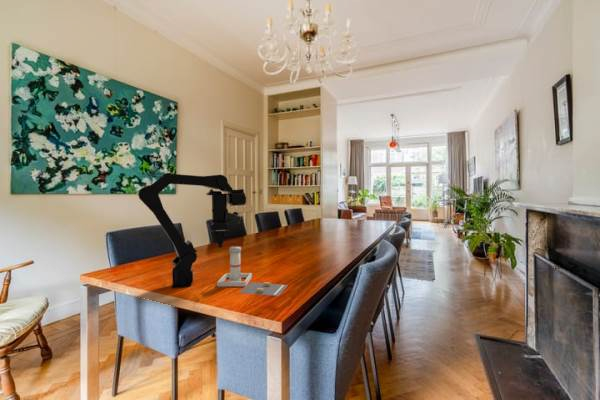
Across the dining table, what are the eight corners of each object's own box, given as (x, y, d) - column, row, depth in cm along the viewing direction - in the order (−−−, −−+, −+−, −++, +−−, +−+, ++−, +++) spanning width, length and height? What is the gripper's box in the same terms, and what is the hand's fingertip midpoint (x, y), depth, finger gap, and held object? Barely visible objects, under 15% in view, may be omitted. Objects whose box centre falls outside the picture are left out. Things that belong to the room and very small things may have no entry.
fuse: (231, 284, 98) (231, 249, 98) (228, 281, 102) (228, 247, 102) (242, 283, 101) (242, 248, 100) (239, 279, 104) (239, 246, 104)
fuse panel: (238, 295, 90) (238, 289, 90) (251, 285, 100) (251, 279, 100) (278, 298, 87) (278, 292, 87) (287, 288, 96) (287, 282, 96)
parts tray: (217, 289, 96) (217, 282, 96) (226, 279, 107) (225, 273, 106) (245, 288, 96) (245, 281, 96) (251, 279, 106) (251, 273, 106)
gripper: (241, 207, 102) (242, 248, 102) (238, 204, 120) (239, 240, 120) (210, 208, 99) (211, 250, 99) (212, 205, 117) (213, 241, 117)
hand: (220, 245), depth 109 cm, fingers open, 9 cm apart
